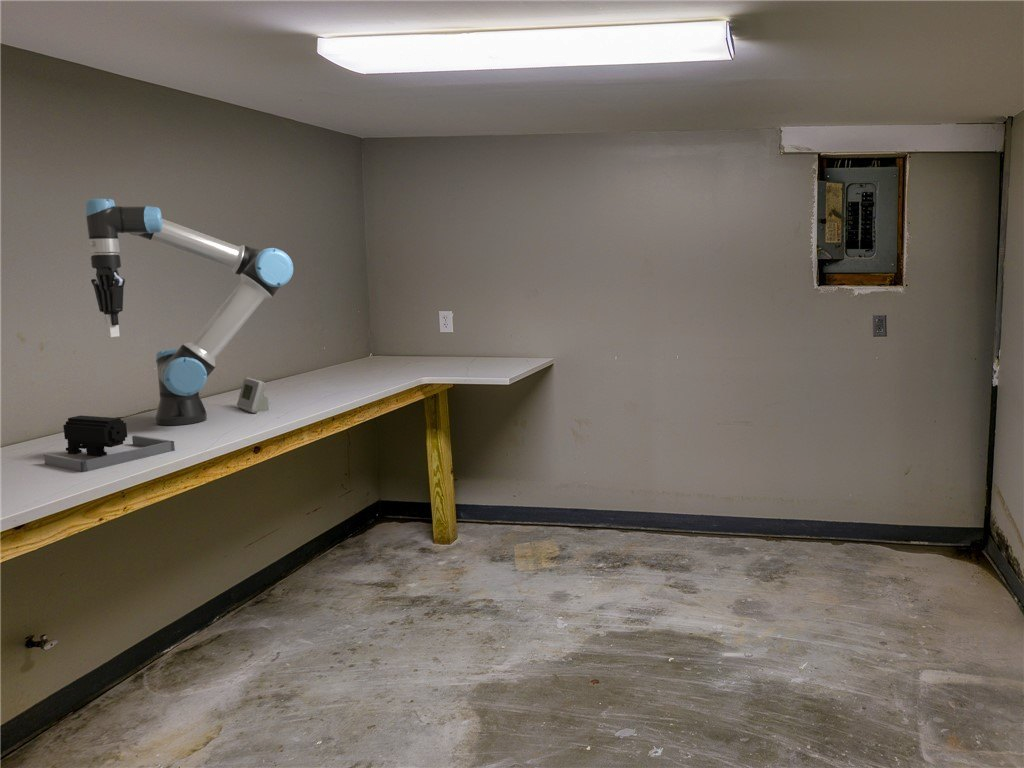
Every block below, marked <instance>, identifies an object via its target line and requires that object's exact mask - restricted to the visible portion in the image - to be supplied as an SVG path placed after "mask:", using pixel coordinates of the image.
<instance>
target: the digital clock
mask: <svg viewBox="0 0 1024 768" xmlns="http://www.w3.org/2000/svg"><path fill="white" fill-rule="evenodd" d="M241 385H242V386H241V389H240V392H239V395H238V399H237V403H236V406H237V407H238V409H241V410H242V411H245V412H247V413H250V414H251V413H252V414H258V413H259V412H266V411H267V412H268V411H269V410H270V409H269V399H268V397H267V396H266V395H264V393H265V390H266V386H267V384H266V383H265V382H264V381H262V380H260V379H257V378H253V377H245V378H244V379H243V382H242V384H241Z"/></svg>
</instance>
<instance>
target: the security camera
mask: <svg viewBox="0 0 1024 768" xmlns="http://www.w3.org/2000/svg"><path fill="white" fill-rule="evenodd" d="M121 419H122V418H121V417H120V418H119V417H110V416H109V417H107V416H94V415H93V416H92V415H76V416H72V417H68V418H67V421H65V424H63V425H62V426H63V433H64V440H67V447H65V452H66V451H67V454H68V455H77V454H81V453H83V451H82V450H85V451H86V457H87V456H89V457H96V458H98V457H102V456H107V455H108V452H107V451H105V447H106V448H113V447H114V448H115V447H118V446H121V445H124V442H125V441H126V438H128V428H127V427H128V426H127V423H126V422H125V421H124V420H121Z"/></svg>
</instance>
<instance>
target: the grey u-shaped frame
mask: <svg viewBox="0 0 1024 768" xmlns="http://www.w3.org/2000/svg"><path fill="white" fill-rule="evenodd" d="M131 438H132V445H133V446H139V447H138V448H134V449H129V450H126V451H121V452H116V453H112V454H107V455H104V456H101V457H95V458H94V457H93V458H90V459H85V460H83V459H79V458H72V457H68V456H63V455H58V454H53V453H44V454H43V458H44V464H45V465H48V466H53V467H57V468H64V469H69V470H73V471H77V472H83V473H85V472H89V471H94V470H97V469H102V468H106V467H110V466H114V465H118V464H122V463H127V462H131V461H135V460H139V459H143V458H148V457H151V456H157V455H161V454H164V453H169V452H173V451H174V452H175V450H176V449H175V446H176V445H175V441H174V440H168V439H163V438H155V437H149V436H143V435H137V434H135V435H132V436H131Z"/></svg>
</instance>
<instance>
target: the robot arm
mask: <svg viewBox="0 0 1024 768" xmlns="http://www.w3.org/2000/svg"><path fill="white" fill-rule="evenodd" d="M85 216H86V217H85V219H86V225H87V233H88V239H89V240H88V241H89V242H88V245H89V253H91V254H92V255H91V256H90V262H91V268H92V269H96V272H95V278H92V279H91V281H90V282H91V284H92V286H93V290H94V293H95V296H96V302H97V305H98V309H99V312H100V313H103V315H105V316H104V317H105V322H106V323H105V324H106V331H107V332H106V333H107V337H108V338H116V337H121V335H120V326H119V325H120V324H119V313H120V312H121V313H122V312H123V310H124V309H123V308H124V307H123V305H124V286H125V283H126V279H125V278H122V277H120V273H119V270H118V269H119V268H121V267H122V263H121V256H120V255H119V253H120V252H121V250H120V244H119V237H118V233H119V234H130V235H132V236H135V237H137V236H138V237H140V238H143V239H146V240H149V241H153V242H155V243H158V244H160V245H163V246H165V247H166V246H167V247H169V248H172V249H175V250H176V251H180V252H183V253H185V254H189V255H192V256H194V257H197V258H200V259H203V260H206V261H208V262H211V263H213V264H216V265H220V266H223V267H225V268H228V269H231V271H232V273H233V274H235V275H239V276H240V282H239V283H238V285H237V286H236V287H235V288H234V289H233V291H232V292H231V293H230V295H229V296H228V297H227V298H226V299H225V300H224V302H223V303H221V305H220V306H219V308H218V309H217V310H216V311H215V313H214V314H213V315H212V316H211V318H209V320H208V321H207V322H206V323H205V324H204V326H203V327H202V328H201V330H199V332H198V333H197V335H195V337H194V338H193V340H191V341H190V342H186V343H182V345H181V346H180V347H179V348H178V349H177V348H176V349H166V350H164V349H163V350H159V351H158V352H156V357H155V358H156V359H155V362H156V366H157V378H158V391H159V401H158V406H157V410H156V414H155V423H156V424H157V425H159V426H160V425H161V426H181V425H182V426H183V425H184V426H185V425H191V424H196V423H201V422H203V421H206V420H207V419H208V418H207V416H208V415H207V411H206V408H205V406H204V404H203V401H202V399H201V396H200V391H201V390H202V389H204V387H205V385H206V383H207V381H208V380H207V379H208V377H209V376H210V375H211V373H212V372H213V371H214V369H215V368H216V367H217V366H216V359H217V358H218V356H219V355H220V354H221V353H222V352H223V350H224V349H225V348H226V347H227V346H228V344H229V343H230V342H231V341H232V339H233V338H234V337H235V336H236V335H237V333H238V332H239V331H240V329H242V327H243V326H244V325H245V323H246V322H247V321H248V320H249V318H250V317H251V316H252V315H253V313H254V312H255V311H256V310H257V308H259V306H260V304H261V303H262V302H263V301H264V300H266V299H272V298H273V297H274V296H275V295H276V294H277V292H278V291H279V289H280V288H281V287H283V286H285V285H286V284H287V283H288V282H289V281H290V280H291V278H292V276H293V274H294V263H293V260H292V259H291V257H290V256H289V255H288V254H287V253H286V252H285V251H283V250H281V249H279V248H276V247H269V248H264V249H263V248H262V249H260V248H259V249H258V248H254V247H250V246H247V245H244V244H242V245H239V246H237V245H235V244H233V243H229V242H227V241H224V240H221V239H219V238H216V237H214V236H211V235H208V234H205V233H202V232H200V231H197V230H194V229H192V228H189V227H186V226H183V225H182V224H178V223H176V222H173V221H171V220H168V219H167V220H166V219H164V218H162V217H163V216H162V211H161V209H160V207H158V206H150V205H145V206H119V205H116V204H115V200H114V199H112V198H90V199H87V200H86V202H85Z"/></svg>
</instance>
